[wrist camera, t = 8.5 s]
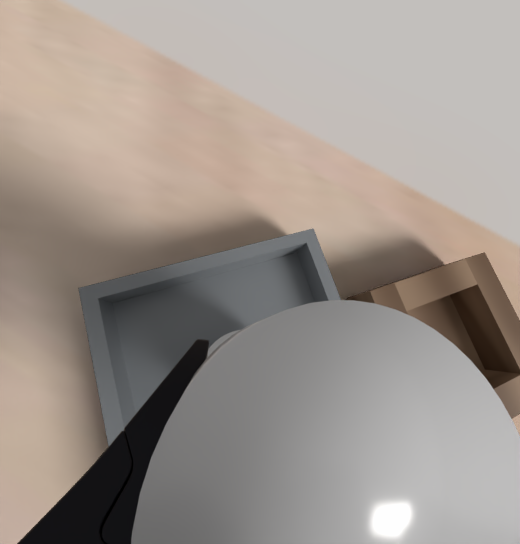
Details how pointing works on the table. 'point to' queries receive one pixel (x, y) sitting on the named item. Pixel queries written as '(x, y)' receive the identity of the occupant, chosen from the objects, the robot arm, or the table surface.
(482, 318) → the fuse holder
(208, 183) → the table surface
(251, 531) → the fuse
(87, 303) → the parts tray
